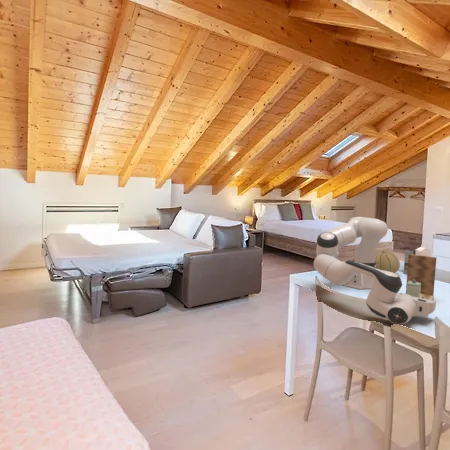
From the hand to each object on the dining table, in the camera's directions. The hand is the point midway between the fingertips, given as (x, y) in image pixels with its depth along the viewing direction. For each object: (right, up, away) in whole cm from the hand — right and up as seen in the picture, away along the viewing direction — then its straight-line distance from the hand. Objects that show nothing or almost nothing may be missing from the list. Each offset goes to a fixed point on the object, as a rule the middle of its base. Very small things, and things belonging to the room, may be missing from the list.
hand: (411, 296), depth 157 cm
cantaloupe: (+18, +1, +62) cm, 65 cm away
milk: (+31, -1, +47) cm, 57 cm away
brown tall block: (+13, -4, +16) cm, 21 cm away
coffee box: (+35, +1, +65) cm, 74 cm away
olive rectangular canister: (+2, -6, +4) cm, 8 cm away
